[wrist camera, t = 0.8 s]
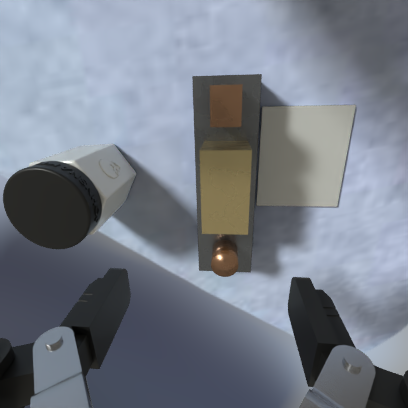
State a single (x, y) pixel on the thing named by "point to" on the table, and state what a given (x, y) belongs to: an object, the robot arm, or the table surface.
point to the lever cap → (225, 186)
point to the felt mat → (303, 154)
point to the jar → (68, 194)
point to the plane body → (226, 131)
